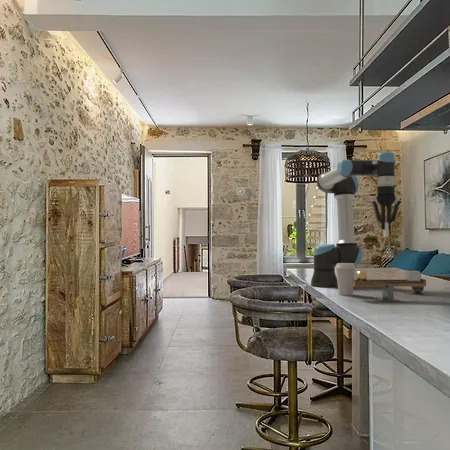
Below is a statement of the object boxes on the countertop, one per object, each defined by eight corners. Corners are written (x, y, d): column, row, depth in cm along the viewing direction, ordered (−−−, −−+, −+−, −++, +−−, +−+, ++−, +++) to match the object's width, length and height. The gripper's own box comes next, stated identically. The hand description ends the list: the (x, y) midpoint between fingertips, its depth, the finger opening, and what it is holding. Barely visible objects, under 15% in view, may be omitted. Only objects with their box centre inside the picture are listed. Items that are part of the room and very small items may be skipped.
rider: (404, 282, 182) (404, 270, 182) (416, 282, 182) (416, 270, 182) (408, 283, 177) (408, 271, 178) (420, 283, 177) (420, 271, 177)
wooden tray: (351, 284, 185) (351, 278, 185) (419, 284, 183) (419, 278, 183) (354, 286, 178) (354, 279, 178) (426, 286, 176) (426, 279, 176)
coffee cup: (357, 296, 192) (356, 264, 192) (336, 295, 194) (335, 264, 194) (354, 293, 201) (354, 262, 202) (334, 293, 203) (334, 262, 204)
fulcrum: (375, 298, 185) (375, 281, 185) (393, 298, 184) (393, 281, 185) (381, 301, 176) (381, 283, 176) (400, 302, 175) (400, 283, 176)
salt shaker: (414, 292, 203) (413, 268, 203) (426, 294, 198) (426, 269, 198) (409, 294, 199) (408, 269, 199) (421, 295, 194) (420, 270, 195)
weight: (356, 282, 184) (356, 271, 184) (365, 282, 183) (365, 271, 183) (358, 283, 180) (358, 271, 180) (367, 283, 179) (367, 271, 179)
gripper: (373, 185, 187) (373, 237, 187) (403, 185, 185) (403, 237, 186) (369, 186, 194) (369, 236, 194) (397, 186, 193) (397, 236, 193)
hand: (385, 236), depth 190 cm, fingers closed
